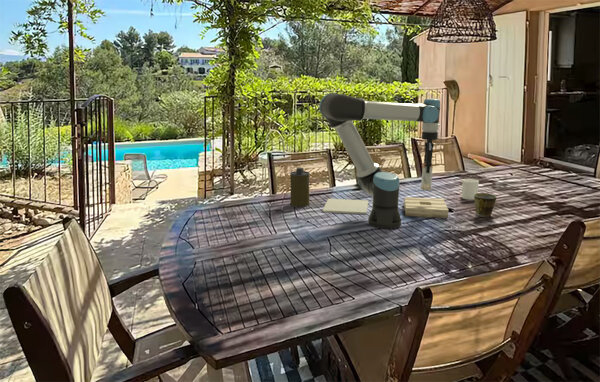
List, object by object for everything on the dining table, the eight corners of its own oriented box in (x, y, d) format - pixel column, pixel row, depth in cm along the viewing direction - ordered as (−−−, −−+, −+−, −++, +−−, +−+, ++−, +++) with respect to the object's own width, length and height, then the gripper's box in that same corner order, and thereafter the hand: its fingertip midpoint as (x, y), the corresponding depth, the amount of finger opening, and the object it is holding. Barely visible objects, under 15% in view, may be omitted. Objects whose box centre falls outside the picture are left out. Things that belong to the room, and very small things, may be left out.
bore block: (447, 217, 214) (448, 210, 213) (405, 215, 218) (405, 208, 217) (442, 206, 233) (443, 198, 232) (404, 204, 237) (404, 197, 236)
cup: (463, 199, 245) (465, 182, 242) (457, 194, 256) (459, 177, 254) (479, 200, 244) (480, 182, 242) (472, 194, 256) (474, 177, 253)
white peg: (431, 190, 220) (433, 164, 217) (421, 189, 221) (423, 164, 218) (430, 188, 225) (432, 162, 221) (420, 187, 225) (422, 162, 222)
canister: (307, 207, 233) (307, 170, 228) (288, 206, 235) (287, 169, 230) (311, 202, 243) (311, 166, 238) (292, 201, 245) (292, 165, 240)
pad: (366, 214, 221) (366, 212, 220) (322, 212, 225) (322, 210, 224) (368, 202, 242) (368, 200, 241) (328, 200, 246) (328, 198, 245)
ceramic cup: (476, 211, 225) (478, 192, 222) (497, 214, 219) (499, 195, 216) (467, 217, 215) (469, 197, 213) (488, 221, 209) (491, 200, 206)
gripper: (440, 133, 206) (436, 182, 212) (436, 129, 223) (432, 174, 229) (423, 133, 208) (420, 181, 213) (420, 128, 225) (417, 173, 230)
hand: (426, 177), depth 221 cm, fingers closed on white peg, 5 cm apart
